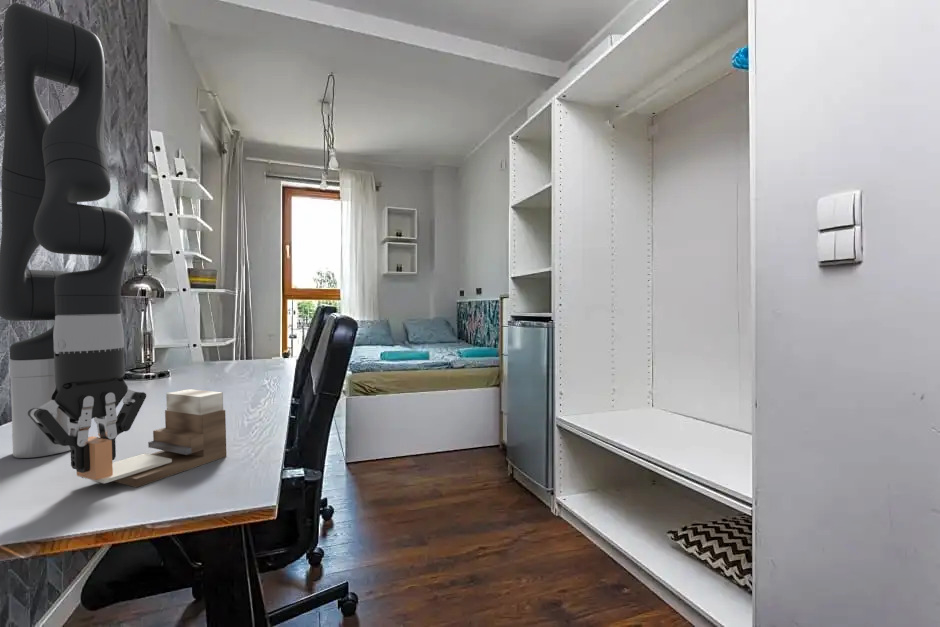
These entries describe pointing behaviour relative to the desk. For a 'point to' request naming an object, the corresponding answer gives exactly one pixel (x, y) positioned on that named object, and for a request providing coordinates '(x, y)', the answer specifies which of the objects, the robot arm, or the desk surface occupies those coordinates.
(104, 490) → the desk surface
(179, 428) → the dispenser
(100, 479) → the plank with orange cube
